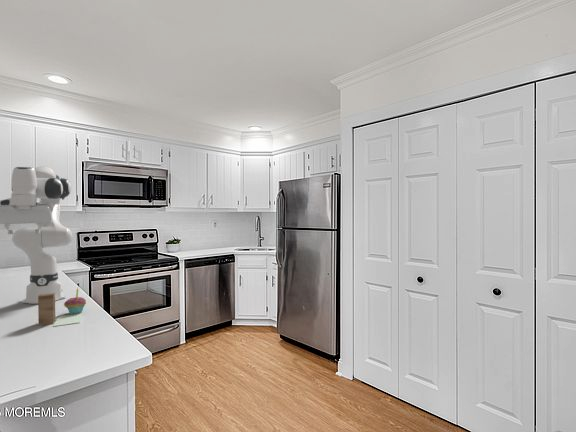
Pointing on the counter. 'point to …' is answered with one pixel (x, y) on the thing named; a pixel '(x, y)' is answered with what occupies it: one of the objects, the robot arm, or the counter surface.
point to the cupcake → (75, 304)
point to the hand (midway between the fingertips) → (24, 233)
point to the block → (46, 308)
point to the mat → (68, 320)
